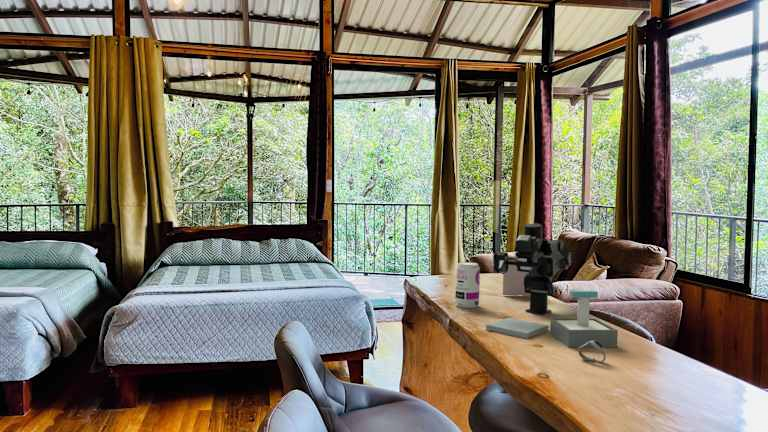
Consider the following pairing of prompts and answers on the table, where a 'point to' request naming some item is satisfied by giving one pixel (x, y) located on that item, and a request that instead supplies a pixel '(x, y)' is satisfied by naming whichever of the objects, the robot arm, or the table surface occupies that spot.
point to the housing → (583, 334)
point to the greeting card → (514, 281)
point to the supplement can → (467, 285)
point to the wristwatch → (597, 346)
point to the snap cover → (583, 313)
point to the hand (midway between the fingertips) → (514, 271)
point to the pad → (517, 327)
